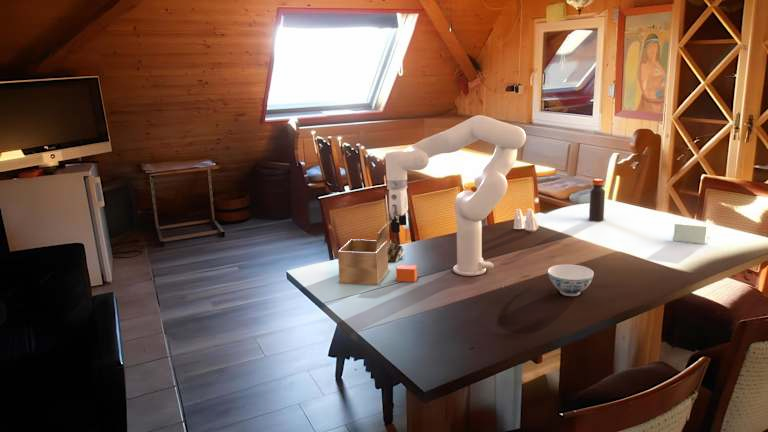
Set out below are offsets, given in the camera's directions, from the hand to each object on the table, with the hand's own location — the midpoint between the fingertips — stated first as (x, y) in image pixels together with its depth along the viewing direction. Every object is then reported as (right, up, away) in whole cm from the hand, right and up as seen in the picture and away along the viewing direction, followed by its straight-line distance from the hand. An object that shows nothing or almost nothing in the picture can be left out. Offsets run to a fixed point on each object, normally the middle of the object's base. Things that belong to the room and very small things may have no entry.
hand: (399, 228), depth 223 cm
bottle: (+99, +3, +71) cm, 122 cm away
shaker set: (+62, -2, +59) cm, 85 cm away
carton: (-13, -19, +8) cm, 24 cm away
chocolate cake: (-1, -13, +27) cm, 30 cm away
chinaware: (+59, -22, -17) cm, 65 cm away
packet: (+3, -19, +3) cm, 20 cm away
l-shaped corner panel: (+128, -5, +35) cm, 133 cm away
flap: (-6, -3, +1) cm, 7 cm away
